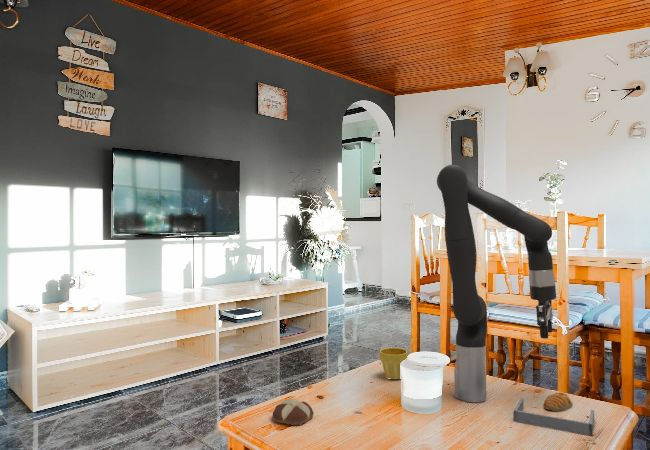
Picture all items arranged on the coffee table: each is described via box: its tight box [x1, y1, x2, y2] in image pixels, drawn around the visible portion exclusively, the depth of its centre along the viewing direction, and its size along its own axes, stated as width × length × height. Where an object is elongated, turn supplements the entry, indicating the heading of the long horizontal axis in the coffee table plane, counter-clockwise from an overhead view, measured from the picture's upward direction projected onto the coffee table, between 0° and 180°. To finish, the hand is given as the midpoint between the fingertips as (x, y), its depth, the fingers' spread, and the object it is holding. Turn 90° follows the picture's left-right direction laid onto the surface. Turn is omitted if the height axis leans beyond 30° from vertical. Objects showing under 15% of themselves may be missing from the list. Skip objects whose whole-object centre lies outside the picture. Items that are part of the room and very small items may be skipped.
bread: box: [272, 398, 314, 426], centre depth 143 cm, size 11×11×5 cm
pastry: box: [543, 392, 574, 412], centre depth 148 cm, size 9×7×4 cm
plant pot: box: [379, 347, 409, 380], centre depth 178 cm, size 10×10×10 cm
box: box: [512, 398, 595, 437], centre depth 138 cm, size 20×11×3 cm, turn 58°
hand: (546, 335), depth 153 cm, fingers open, 8 cm apart
